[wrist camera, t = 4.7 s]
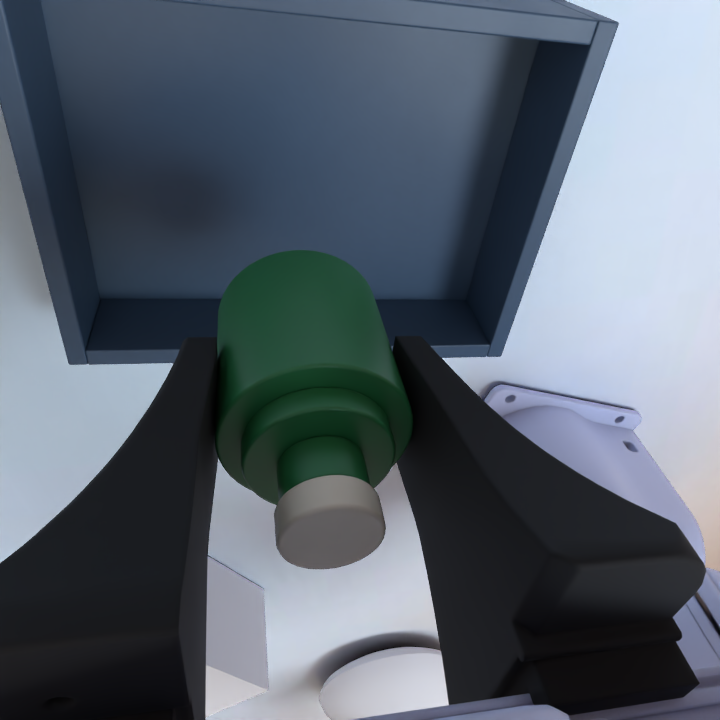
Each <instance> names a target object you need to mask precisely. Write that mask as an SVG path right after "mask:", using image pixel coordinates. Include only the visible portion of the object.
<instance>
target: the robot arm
mask: <svg viewBox="0 0 720 720" xmlns="http://www.w3.org/2000/svg"><path fill="white" fill-rule="evenodd" d="M392 352H393V355H394V358H395V361H396V364H397V367H398V370H399V373H400V376H401V379H402V382H403V385H404V388H405V391H406V394H407V397H408V400H409V403H410V406H411V409H412V414H413V429H412V435H411V438H410V441H409V444H408V446H407V448H406V450H405V452H404V453H403V455H402V456H401V457H400V459H399V460H398V461H397V465H398V468H399V471H400V474H401V478H402V481H403V484H404V487H405V490H406V493H407V496H408V499H409V502H410V505H411V508H412V512H413V515H414V518H415V521H416V525H417V529H418V532H419V536H420V541H421V546H422V551H423V555H424V560H425V565H426V570H427V575H428V580H429V585H430V591H431V596H432V601H433V607H434V612H435V618H436V624H437V630H438V636H439V642H440V648H441V654H442V661H443V668H444V675H445V682H446V689H447V696H448V703H449V705H446V706H440V707H433V708H426V709H419V710H412V711H406V712H399V713H392V714H385V715H378V716H372V717H365V718H358V719H351V720H720V571H717V570H714V569H711V568H705V547H704V541H703V537H702V534H701V531H700V528H699V525H698V523H697V521H696V519H695V518H694V516H693V514H692V513H691V511H690V510H689V508H688V507H687V506H686V504H685V503H684V501H683V500H682V499H681V497H680V496H679V494H678V493H677V492H676V490H675V489H674V487H673V486H672V485H671V483H670V482H669V480H668V479H667V478H666V476H665V475H664V473H663V472H662V471H661V469H660V468H659V466H658V465H657V464H656V462H655V461H654V459H653V458H652V457H651V455H650V454H649V452H648V451H647V450H646V448H645V447H644V445H643V444H642V443H641V441H640V440H639V438H638V437H637V436H636V434H635V433H634V431H633V430H634V429H635V428H636V427H637V426H638V425H639V424H640V422H641V421H642V416H641V415H640V414H639V412H637V411H634V410H629V409H623V408H618V407H613V406H608V405H603V404H598V403H593V402H588V401H583V400H578V399H573V398H568V397H563V396H558V395H553V394H548V393H543V392H538V391H533V390H528V389H523V388H518V387H513V386H508V385H498V386H495V387H494V388H493V389H492V390H491V391H490V392H489V394H488V395H487V397H486V398H485V400H484V401H483V400H482V399H481V398H480V397H479V396H478V395H477V394H476V393H475V392H474V391H473V390H472V389H471V388H470V387H469V386H468V385H467V384H466V383H465V382H464V381H463V380H462V379H461V378H460V377H459V376H458V375H457V374H456V373H455V372H454V371H453V370H452V369H451V368H450V367H449V366H448V364H447V363H446V362H445V361H444V360H443V359H442V358H441V357H440V356H439V355H438V354H437V353H436V352H435V351H434V349H433V348H432V347H431V346H430V345H429V344H428V343H427V342H426V341H425V340H424V339H423V338H422V337H421V336H395V341H394V346H393V350H392ZM217 369H218V353H217V337H187V338H186V339H185V340H184V341H183V342H182V345H181V348H180V351H179V353H178V355H177V358H176V360H175V362H174V364H173V366H172V368H171V370H170V372H169V374H168V376H167V378H166V380H165V381H164V383H163V385H162V387H161V388H160V390H159V392H158V393H157V395H156V397H155V399H154V400H153V402H152V404H151V405H150V407H149V408H148V410H147V411H146V413H145V414H144V416H143V417H142V418H141V420H140V421H139V423H138V424H137V426H136V427H135V429H134V430H133V432H132V433H131V434H130V436H129V437H128V438H127V440H126V441H125V442H124V444H123V445H122V446H121V447H120V449H119V450H118V451H117V452H116V454H115V455H114V456H113V457H112V458H111V460H110V461H109V462H108V463H107V464H106V466H105V467H104V468H103V469H102V470H101V471H100V472H99V473H98V474H97V475H96V477H95V478H94V479H93V480H92V481H91V482H90V483H89V484H88V485H87V486H86V487H85V489H84V490H83V491H82V492H81V493H80V494H79V495H78V496H77V497H76V498H75V499H74V500H73V501H72V502H71V503H70V504H69V505H68V506H67V507H65V508H64V509H63V510H62V511H61V512H60V513H59V514H58V515H57V516H56V517H54V518H53V519H52V520H51V521H50V522H49V523H48V524H47V525H46V526H45V527H44V528H42V529H41V530H40V531H39V532H38V533H37V534H36V535H35V536H34V537H32V538H31V539H30V540H29V541H28V542H27V543H25V544H24V545H23V546H22V547H20V548H19V549H18V550H17V551H15V552H14V553H13V554H12V555H10V556H9V557H8V558H6V559H5V560H4V561H3V562H1V563H0V720H205V706H206V622H207V565H208V542H209V530H210V522H211V513H212V505H213V496H214V488H215V479H216V471H217V462H218V455H217V453H216V448H215V411H216V396H217ZM509 395H510V396H509ZM507 396H509V397H507Z"/></svg>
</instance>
